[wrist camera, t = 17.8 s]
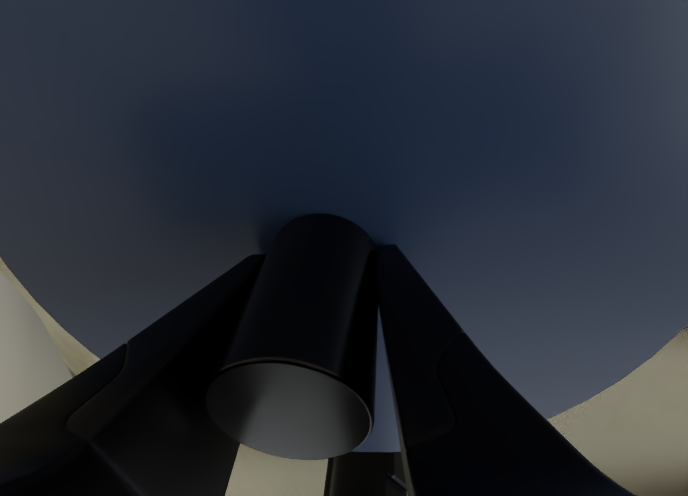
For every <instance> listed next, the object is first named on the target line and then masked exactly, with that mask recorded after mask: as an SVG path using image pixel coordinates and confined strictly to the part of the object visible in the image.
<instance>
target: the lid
mask: <svg viewBox="0 0 688 496" xmlns="http://www.w3.org/2000/svg"><path fill="white" fill-rule="evenodd" d="M390 244H395V245H397V246H398V247H399V249H400V250H401V251H402V253H403V254H404V255H405V256H406V258H407V259H408V260H409V261H410V263H411V264H412V265H413V267H414V268H415V269H416V270H417V272H418V273H419V274H420V275H421V277H422V278H423V279H424V281H425V282H426V283H427V284H428V286H429V287H430V288H431V289H432V291H433V292H434V293H435V294H436V296H437V297H438V298H439V300H440V301H441V302H442V303H443V305H444V306H445V307H446V308H447V310H448V311H449V312H450V314H451V315H452V316H453V317H454V319H455V320H456V321H457V322H458V324H459V325H460V326H461V328H462V329H463V330H464V332H465V333H466V334H467V335H468V336H469V337H470V339H471V340H472V341H473V343H474V344H475V345H476V346H477V348H478V349H479V350H480V351H481V352H482V353H483V355H484V356H485V357H486V358H487V359H488V361H489V362H490V363H491V364H492V365H493V366H494V368H495V369H496V370H497V371H498V372H499V373H500V374H501V375H502V376H503V377H504V378H505V379H506V380H507V381H508V382H509V383H510V384H511V385H512V386H513V387H514V388H515V389H516V390H517V391H518V392H519V393H520V394H521V395H522V396H523V397H524V398H525V399H526V400H527V401H528V402H529V403H530V404H531V405H532V406H533V407H534V408H535V409H536V410H537V411H538V412H539V413H540V414H541V415H542V416H543V417H544V418H545V419H548V418H551V417H553V416H555V415H557V414H560V413H562V412H564V411H566V410H568V409H570V408H572V407H574V406H576V405H578V404H580V403H582V402H584V401H586V400H588V399H590V398H591V397H593V396H595V395H596V394H598V393H600V392H601V391H603V390H605V389H606V388H608V387H610V386H611V385H613V384H615V383H616V382H618V381H620V380H621V379H623V378H624V377H625V376H627V375H628V374H629V373H631V372H632V371H633V370H635V369H636V368H637V367H639V366H640V365H641V364H643V363H644V362H646V361H647V360H648V359H650V358H651V357H652V356H654V355H655V354H656V353H657V352H658V351H659V350H660V349H661V348H662V347H663V346H665V345H666V344H667V343H668V342H669V341H670V340H671V339H672V338H673V337H674V336H676V335H677V334H678V333H679V332H680V331H681V330H682V329H683V328H684V327H685V326H686V325H687V324H688V0H0V257H1V258H2V260H3V261H4V262H5V264H6V265H7V267H8V268H9V270H10V271H11V272H12V273H13V274H14V276H15V277H16V278H17V279H18V280H19V282H20V283H21V284H22V285H23V286H24V288H25V289H26V290H27V291H28V292H29V294H30V295H31V296H32V297H33V298H34V299H35V301H36V302H37V303H38V304H39V305H40V306H41V307H42V308H43V309H44V310H45V311H46V312H47V313H48V314H49V315H50V316H51V317H52V318H53V319H54V320H55V321H56V322H57V323H58V324H59V325H60V326H61V327H62V328H63V329H64V330H66V331H67V332H68V333H69V334H70V335H71V336H73V337H74V338H75V339H76V340H77V341H79V342H80V343H81V344H82V345H83V346H84V347H86V348H87V349H88V350H89V351H90V352H91V353H93V354H94V355H96V356H97V357H98V358H100V359H102V358H104V357H105V356H107V355H108V354H109V353H111V352H112V351H114V350H115V349H117V348H118V347H119V346H121V345H122V344H124V343H126V344H127V341H128V340H130V339H131V338H132V337H134V336H135V335H137V334H138V333H140V332H141V331H142V330H144V329H145V328H147V327H148V326H150V325H151V324H152V323H154V322H155V321H157V320H158V319H160V318H161V317H162V316H164V315H165V314H167V313H168V312H170V311H171V310H172V309H174V308H175V307H177V306H178V305H180V304H181V303H182V302H184V301H185V300H187V299H188V298H190V297H191V296H192V295H194V294H195V293H197V292H198V291H200V290H201V289H202V288H204V287H205V286H207V285H208V284H210V283H211V282H212V281H214V280H215V279H217V278H218V277H220V276H221V275H222V274H224V273H225V272H227V271H228V270H230V269H231V268H232V267H234V266H235V265H237V264H238V263H240V262H241V261H242V260H244V259H245V258H247V257H248V256H250V255H254V254H267V255H266V257H265V259H264V261H263V264H262V266H261V268H260V270H259V272H258V274H257V276H256V279H255V281H254V283H253V285H252V287H251V289H250V291H249V293H248V296H247V298H246V300H245V302H244V304H243V306H242V308H241V311H240V313H239V315H238V317H237V319H236V321H235V323H234V326H233V328H232V330H231V332H230V334H229V336H228V338H227V340H226V343H225V345H224V347H223V349H222V351H221V353H220V355H219V358H218V360H217V362H216V364H215V366H214V368H213V370H212V373H211V375H210V377H209V379H208V381H207V383H206V385H205V390H204V403H205V407H206V410H207V412H208V414H209V416H210V417H211V419H212V420H213V421H214V423H215V424H216V425H217V426H218V427H219V428H220V429H221V430H222V431H223V432H225V433H226V434H227V435H229V436H230V437H232V438H233V439H235V440H236V441H238V442H240V443H242V444H244V445H246V446H248V447H250V448H253V449H255V450H258V451H261V452H263V453H267V454H270V455H274V456H279V457H283V458H290V459H300V460H318V459H327V458H333V457H337V456H341V455H344V454H347V453H349V452H351V451H353V452H401V449H400V443H399V437H398V430H397V424H396V418H395V411H394V405H393V398H392V392H391V386H390V379H389V373H388V367H387V360H386V354H385V347H384V340H383V333H382V326H381V318H380V311H379V304H378V297H377V290H376V283H375V268H376V259H377V250H378V247H379V246H380V245H390Z"/></svg>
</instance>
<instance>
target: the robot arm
mask: <svg viewBox="0 0 688 496" xmlns="http://www.w3.org/2000/svg"><path fill="white" fill-rule="evenodd" d="M266 255H267V254H254V255H250V256H248V257H247V258H245V259H244V260H242V261H241V262H240V263H238V264H237V265H235V266H234V267H232V268H231V269H230V270H228V271H227V272H225V273H224V274H222V275H221V276H220V277H218V278H217V279H215V280H214V281H212V282H211V283H210V284H208V285H207V286H205V287H204V288H202V289H201V290H200V291H198V292H197V293H195V294H194V295H192V296H191V297H190V298H188V299H187V300H185V301H184V302H182V303H181V304H180V305H178V306H177V307H175V308H174V309H172V310H171V311H170V312H168V313H167V314H165V315H164V316H162V317H161V318H160V319H158V320H157V321H155V322H154V323H152V324H151V325H150V326H148V327H147V328H145V329H144V330H142V331H141V332H140V333H138V334H137V335H135V336H134V337H132V338H131V339H130V340H128V341H127V344H126V343H124V344H122V345H121V346H119V347H118V348H117V349H115V350H114V351H112V352H111V353H109V354H108V355H107V356H105V357H104V358H102V359H101V360H99V361H98V362H96V363H95V364H93V365H92V366H90V367H89V368H87V369H86V370H84V371H83V372H81V373H80V374H78V375H77V376H75V377H74V378H72V379H71V380H69V381H67V382H66V383H64V384H63V385H61V386H60V387H58V388H57V389H55V390H53V391H52V392H50V393H49V394H47V395H45V396H44V397H42V398H41V399H39V400H38V401H36V402H34V403H33V404H31V405H29V406H28V407H26V408H25V409H23V410H21V411H20V412H18V413H17V414H15V415H13V416H12V417H10V418H9V419H7V420H5V421H4V422H2V423H1V424H0V496H225V493H226V489H227V486H228V482H229V479H230V475H231V472H232V469H233V465H234V462H235V458H236V455H237V452H238V448H239V445H240V442H238V441H236V440H235V439H233V438H232V437H230V436H229V435H227V434H226V433H225V432H223V431H222V430H221V429H220V428H219V427H218V426H217V425H216V424H215V423H214V421H213V420H212V419H211V417H210V416H209V414H208V412H207V410H206V407H205V403H204V390H205V385H206V383H207V381H208V379H209V377H210V375H211V373H212V370H213V368H214V366H215V364H216V362H217V360H218V358H219V355H220V353H221V351H222V349H223V347H224V345H225V343H226V340H227V338H228V336H229V334H230V332H231V330H232V328H233V326H234V323H235V321H236V319H237V317H238V315H239V313H240V311H241V308H242V306H243V304H244V302H245V300H246V298H247V296H248V293H249V291H250V289H251V287H252V285H253V283H254V281H255V279H256V276H257V274H258V272H259V270H260V268H261V266H262V264H263V261H264V259H265V257H266ZM375 283H376V290H377V297H378V304H379V311H380V318H381V326H382V333H383V340H384V347H385V354H386V360H387V367H388V373H389V379H390V386H391V392H392V398H393V405H394V411H395V418H396V424H397V430H398V437H399V443H400V449H401V452H353V451H351V452H349V453H347V454H344V455H341V456H337V457H333V458H328V466H327V474H326V481H325V489H324V496H407V494H408V496H636V495H634V494H632V493H631V492H629V491H628V490H626V489H625V488H623V487H622V486H620V485H618V484H617V483H616V482H614V481H613V480H612V479H610V478H609V477H608V476H606V475H605V474H604V473H602V472H601V471H600V470H599V469H598V468H596V467H595V466H594V465H593V464H592V463H590V462H589V461H588V460H587V459H586V458H585V457H584V456H583V455H582V454H581V453H580V452H579V451H578V450H577V449H576V448H575V447H574V446H573V445H572V444H571V443H570V442H569V441H567V440H566V439H565V438H564V437H563V436H562V435H561V434H560V433H559V432H558V431H557V430H556V429H555V428H554V427H553V426H552V425H551V424H550V423H549V422H548V421H547V420H546V419H545V418H544V417H543V416H542V415H541V414H540V413H539V412H538V411H537V410H536V409H535V408H534V407H533V406H532V405H531V404H530V403H529V402H528V401H527V400H526V399H525V398H524V397H523V396H522V395H521V394H520V393H519V392H518V391H517V390H516V389H515V388H514V387H513V386H512V385H511V384H510V383H509V382H508V381H507V380H506V379H505V378H504V377H503V376H502V375H501V374H500V373H499V372H498V371H497V370H496V369H495V368H494V366H493V365H492V364H491V363H490V362H489V361H488V359H487V358H486V357H485V356H484V355H483V353H482V352H481V351H480V350H479V349H478V348H477V346H476V345H475V344H474V343H473V341H472V340H471V339H470V337H469V336H468V335H467V334H466V333H465V332H464V330H463V329H462V328H461V326H460V325H459V324H458V322H457V321H456V320H455V319H454V317H453V316H452V315H451V314H450V312H449V311H448V310H447V308H446V307H445V306H444V305H443V303H442V302H441V301H440V300H439V298H438V297H437V296H436V294H435V293H434V292H433V291H432V289H431V288H430V287H429V286H428V284H427V283H426V282H425V281H424V279H423V278H422V277H421V275H420V274H419V273H418V272H417V270H416V269H415V268H414V267H413V265H412V264H411V263H410V261H409V260H408V259H407V258H406V256H405V255H404V254H403V253H402V251H401V250H400V249H399V247H398V246H397V245H395V244H390V245H380V246H379V247H378V250H377V259H376V268H375Z"/></svg>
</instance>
